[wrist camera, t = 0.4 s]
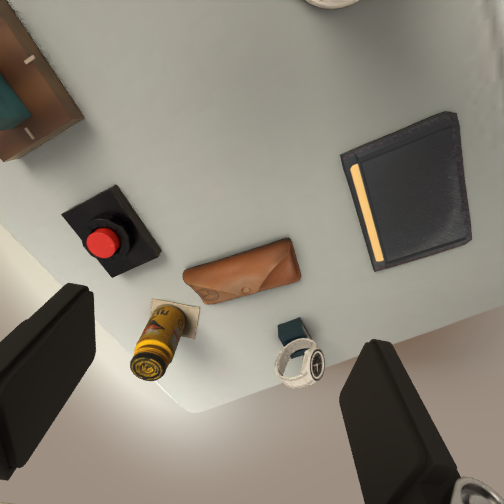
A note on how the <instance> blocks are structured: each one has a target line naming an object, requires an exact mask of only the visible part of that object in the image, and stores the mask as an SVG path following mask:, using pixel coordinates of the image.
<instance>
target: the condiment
mask: <svg viewBox="0 0 504 504" xmlns="http://www.w3.org/2000/svg"><path fill="white" fill-rule="evenodd" d="M199 309H200V308H198V307H193V306H187V305H182V304H177V303H173V302H167V301H162V300H157V299H152V306H151V318H150V319H149V321H148V323H147V325H146V327H145V329H144V331H143V333H142V335H141V337H140V339H139V341H138V342H137V345H136V347H135V350H134V351H135V353H134V356H133V358H132V360H131V363H130V368H131V370H132V372H133V374H134V375H136V376H137V377H138V378H140V379H143V380H146V381H155V380H158V379H159V378H161V377H162V376H163V375H164V374H165V372H166V368H167V367H168V365H169V364H170V363H171V361H172V359H173V357H174V354H175V351H176V348H177V345H178V342H179V340H180V337H181V336H183V337H188V338H193V339H195V335H196V328H197V322H198V316H199Z"/></svg>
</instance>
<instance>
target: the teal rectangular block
mask: <svg viewBox="0 0 504 504" xmlns="http://www.w3.org/2000/svg"><path fill="white" fill-rule="evenodd" d="M31 116H32V115H31V114H30V112H29V111H28V110H27V108H26V107H25V105H24V104H23V103H22V101H21V100H20V99H19V97H18V96H17V95H16V93H15V92H14V90H13V89H12V88H11V86H10V85H9V84H8V82H7V81H6V80H5V78H4V77H3V76H2V74H1V73H0V130H8V129H12V128H14V127H15V126H17V125H18V124H20V123H21V122H23V121H25V120H26V119H28V118H29V117H31Z"/></svg>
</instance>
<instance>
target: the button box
mask: <svg viewBox="0 0 504 504" xmlns="http://www.w3.org/2000/svg"><path fill="white" fill-rule="evenodd" d="M61 215H62V216H63V217H64V219H65V220H66V221H67V222H68V224H69V225H70V226H71V227H72V229H73V230H74V231H75V232H76V234H77V235H78V236H79V237H80V239H81V240H82V243H83V246H84V247H85V249H86V250H87V251H88V252H89V254H90V255H91V256H93V257H95V258H97V260H98V261H99V262H100V263H101V265H102V266H103V267H104V268H105V270H106V271H107V272H108V273H109V275H110V276H111V277H112V278H113V277H115V276H117V275H119V274H122V273H124V272H126V271H128V270H131V269H133V268H135V267H137V266H139V265H142V264H144V263H146V262H148V261H151V260H153V259H155V258H157V257H158V256H159V255H160V253H161V252H162V250H161V249H160V247H159V246H158V245H157V243H156V242H155V240H154V239H153V237H152V236H151V234H150V233H149V231H148V230H147V229H146V227H145V226H144V224H143V223H142V221H141V220H140V218H139V217H138V215H137V214H136V212H135V211H134V210H133V208H132V207H131V205H130V204H129V202H128V201H127V199H126V198H125V196H124V195H123V194H122V192H121V191H120V189H119V188H118V186H117V185H114V186H112V187H111V188H109V189H107V190H105V191H103V192H101V193H99V194H98V195H96V196H94V197H92V198H90V199H88V200H86V201H84V202H83V203H81V204H79V205H77V206H75V207H73V208H71V209H70V210H68V211H66V212H64V213H63V214H61ZM100 228H107V229H110V230H112V231H113V232H115V233H116V234H117V236H118V237H119V240H120V247H119V249H118V250H117V251H116V252H115V253H114V254H113V255H112V256H110V257H108V258H100V257H97V256H95V255H94V254H93V253H91V252H90V250H89V249H88V247H87V238H88V237H89V235H91V234H92V233H93V232H94V231H96V230H97V229H100Z"/></svg>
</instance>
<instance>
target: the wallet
mask: <svg viewBox="0 0 504 504" xmlns="http://www.w3.org/2000/svg"><path fill="white" fill-rule="evenodd" d="M340 157H341V161H342V165H343V169H344V172H345V175H346V178H347V181H348V184H349V187H350V191H351V194H352V198H353V201H354V204H355V208H356V211H357V215H358V218H359V222H360V225H361V228H362V232H363V235H364V239H365V242H366V246H367V249H368V252H369V256H370V259H371V263H372V266H373V270H374V271H375V272H376V271H379V270H382V269H385V268H390V267H394V266H397V265H401V264H404V263H407V262H411V261H414V260H417V259H420V258H424V257H427V256H430V255H433V254H437V253H440V252H443V251H446V250H450V249H453V248H456V247H459V246H462V245H465V244H466V243H468V242H469V241H470V240H472V232H471V222H470V214H469V207H468V200H467V192H466V185H465V177H464V167H463V157H462V148H461V137H460V125H459V121H458V117H457V113H452V112H442V113H440V114H437V115H434V116H431V117H429V118H427V119H424V120H422V121H420V122H417V123H415V124H413V125H410V126H408V127H406V128H404V129H401V130H399V131H397V132H394V133H392V134H389V135H387V136H385V137H382V138H380V139H377V140H375V141H372V142H370V143H367V144H365V145H362V146H360V147H358V148H356V149H353V150H351V151H349V152H346V153H344V154H341V155H340Z"/></svg>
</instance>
